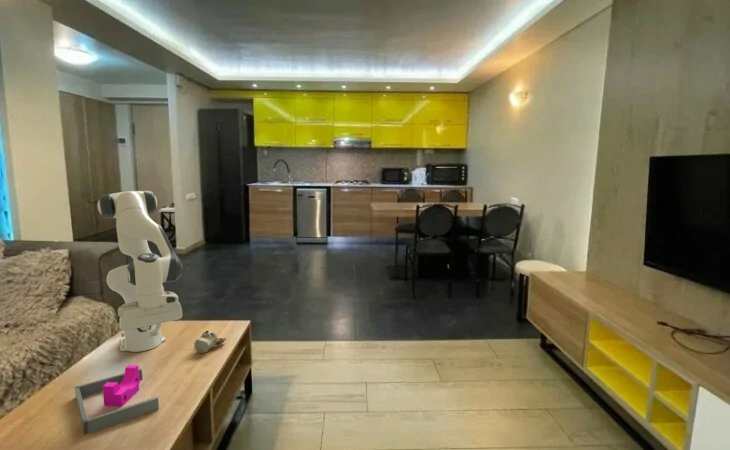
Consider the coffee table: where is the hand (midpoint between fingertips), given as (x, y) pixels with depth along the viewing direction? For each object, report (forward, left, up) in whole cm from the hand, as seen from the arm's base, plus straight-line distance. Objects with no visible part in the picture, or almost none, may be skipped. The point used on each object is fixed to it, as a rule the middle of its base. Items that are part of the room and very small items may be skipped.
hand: (153, 335), depth 148 cm
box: (0, -12, -21) cm, 25 cm away
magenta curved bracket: (-4, -9, -22) cm, 24 cm away
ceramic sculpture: (-23, +27, -22) cm, 42 cm away
